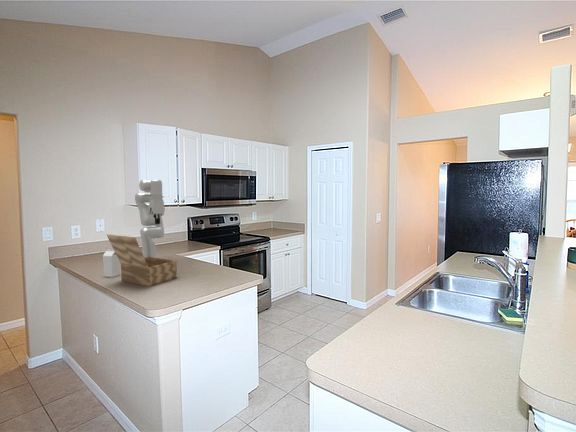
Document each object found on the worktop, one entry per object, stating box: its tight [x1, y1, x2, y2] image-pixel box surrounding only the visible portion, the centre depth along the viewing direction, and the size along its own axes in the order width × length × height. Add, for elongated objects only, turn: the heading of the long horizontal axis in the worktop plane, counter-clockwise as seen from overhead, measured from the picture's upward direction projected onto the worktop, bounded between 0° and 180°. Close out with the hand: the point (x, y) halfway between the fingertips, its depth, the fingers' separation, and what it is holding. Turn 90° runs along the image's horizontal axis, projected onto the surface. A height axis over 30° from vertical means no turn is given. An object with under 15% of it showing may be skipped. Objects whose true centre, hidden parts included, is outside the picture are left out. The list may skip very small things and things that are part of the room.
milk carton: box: [102, 248, 121, 278], centre depth 224 cm, size 7×7×19 cm
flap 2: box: [120, 235, 148, 268], centre depth 198 cm, size 22×14×1 cm
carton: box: [120, 257, 178, 287], centre depth 216 cm, size 22×28×12 cm
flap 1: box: [106, 233, 134, 265], centre depth 204 cm, size 22×14×1 cm
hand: (157, 223), depth 222 cm, fingers closed
